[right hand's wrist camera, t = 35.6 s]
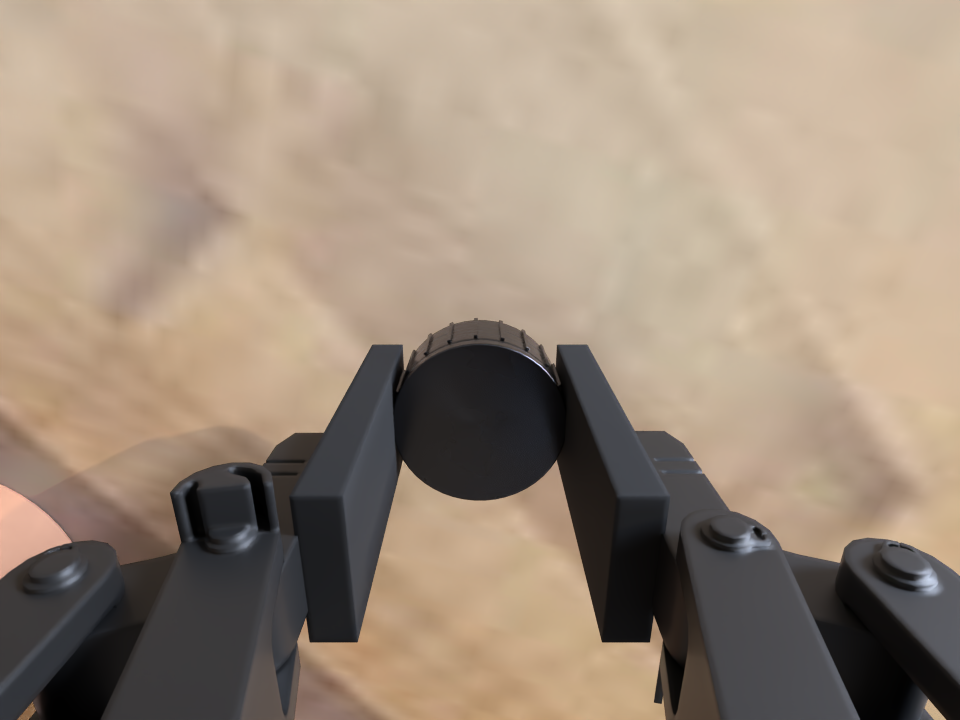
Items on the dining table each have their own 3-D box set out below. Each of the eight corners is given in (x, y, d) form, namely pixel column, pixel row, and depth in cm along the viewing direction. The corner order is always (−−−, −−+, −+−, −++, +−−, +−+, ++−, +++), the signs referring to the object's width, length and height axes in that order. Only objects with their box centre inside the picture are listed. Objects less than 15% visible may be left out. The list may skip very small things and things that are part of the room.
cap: (382, 437, 15) (368, 475, 13) (426, 294, 13) (418, 316, 12) (525, 479, 15) (531, 522, 13) (583, 346, 14) (597, 374, 12)
